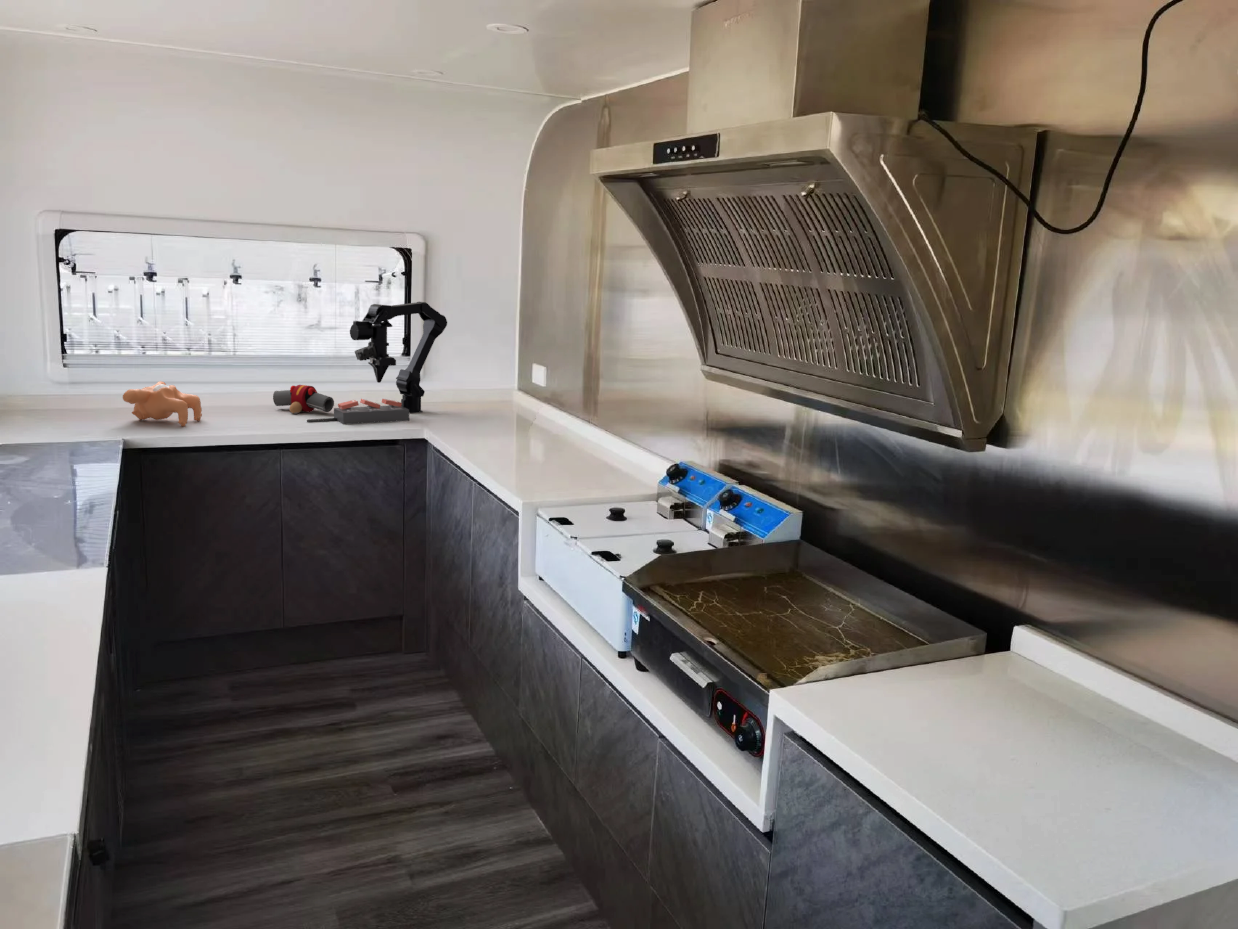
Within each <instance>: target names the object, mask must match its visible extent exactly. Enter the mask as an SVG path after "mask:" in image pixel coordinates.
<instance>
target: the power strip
mask: <svg viewBox="0 0 1238 929" xmlns="http://www.w3.org/2000/svg"><path fill="white" fill-rule="evenodd" d="M335 421H337V422H339V423H340V424H343V425H349V424H350V425H353V424H368V423H371V424H372V423H386V422H387V423H389V422H390V421H392V422H404V421H405V422H407V421H408V422H409V421H410V413H409V409H407V408H404V407H402V406H401V407H399V406H393V405H380V408H375V407H372V406H368V405H366V406H354V407H351V408H347V409H343V410H342V409H340V408H339V407H333V417H326V418H309V419H306V423H317V422H335ZM388 421H389V422H388Z"/></svg>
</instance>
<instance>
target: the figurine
mask: <svg viewBox="0 0 1238 929" xmlns="http://www.w3.org/2000/svg"><path fill="white" fill-rule="evenodd" d="M122 400H123V401H124V402H125V403H128V404H130V405H133V406H134V407H133V410H132V412H131V414H132V415H134V416H135V417H136V418H137V419H138V421H144V420H145V421H146V420H147V419H153V420H157V421H158V420H165V419H168V418H170V417H171V416H172V415H173V414H174V413H175V414H178V421H177V423H178V424H179V425H180V426H181V427H185V426H186V425H188V419H189V409H192V411H193V421H197V422H199V421H201V418H202V417H203V413H202V411H203V410H202V409H203V408H202V405H201V404H202V403H201V399H200V397H199V396H198V395H196V394H191V393H183V392H181V391H180V390H179V389H177V387H176V386H175V385H174V384H171V385H167V383H165V382H164V381H161V380H160V381H157V382H156V383H155V384H153V385H151V386H144V387H142V388H135V389H134V388H130V389H126V391H125V392H124V393H123V395H122Z"/></svg>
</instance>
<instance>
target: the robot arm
mask: <svg viewBox="0 0 1238 929" xmlns="http://www.w3.org/2000/svg"><path fill="white" fill-rule="evenodd" d="M414 314H418V316H419V317H420V319H421V320H423V325H422V328H423V330H422V331H423V333H422V335H421V338H420V340H419V343H418V345H417V347H416V349H415V350H414V352H413V355H412V358H411V360H410V362H409V364H408V366H407V367H406V368H405V369H402V368H401V369H400V370H399V371H398V374H397V376H396V377H395V380H396V382H395V385H396V388H397V389H398V391H399V394H400V395H402V396H401V400H400V403H402V405H401V406H402V407H404V408H407V409H409V414H413V413H423V410H422V398H423V397H424V395H425V390H424V388H423V387H421V386H420V383H421V372H422V369H423V368H424V366H425V363H426V360H427V358H428V356H429V354H430V351H431V349H432V347H433V345H434V343H435V341H436V339H437V338H439V337H440V335H442V334H443V332H444V331H445V329H446V327H448V319H447V317H446V316H445V315H444V314H441V313H440V312H439V311H438V310H436V309H435V308H433V307H432V306H430V304H428V302H425V301H417V302H409V303H402V304H395V305H394V304H393V305H387V304H381V303H379V304H378V303H373V304H372V303H371V305H370V306H369V307H368V311H367V312H366V314H365V315H364V317H363V319H362V320H361V321H360V320H353V322H352V323H353V324H351V327H350V329H349V334H350V335H349V336H350V338H351V340H353V341H368V340H369V341H368V344H367V346H363V347H361V348H359V349H356V350H354V354H355V357H356V360H357V361H358V360H359V361H361V362H362V361H367V360H369V361H368V362H367V363H368V365H370V366H371V367H372V369H373V372H374V376H375V380H376V382H377V383H381V382H382V380H383V378H384V376H385V374H386V372H387V370H388V368H389V367H393V366H397V360H396V359H395V358H394V356H390V354H389V353H388V347H389V346H390V343H389V342H388V328H392V327H393V324H392V323H390V322H389V320H392V319H394V318H395V317H399V316H407V315H414Z"/></svg>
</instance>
